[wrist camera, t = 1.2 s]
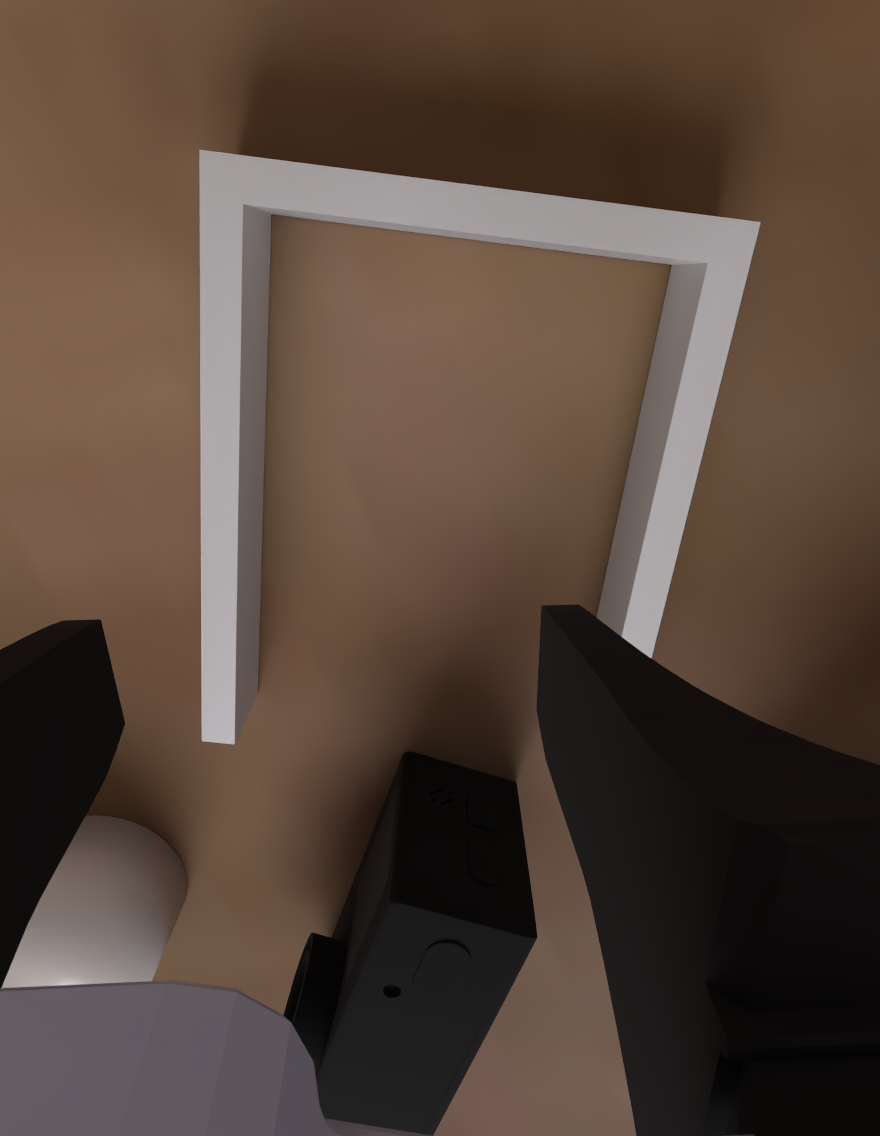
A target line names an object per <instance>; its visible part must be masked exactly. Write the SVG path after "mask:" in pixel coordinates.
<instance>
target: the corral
mask: <svg viewBox="0 0 880 1136" xmlns="http://www.w3.org/2000/svg"><path fill="white" fill-rule="evenodd" d="M271 214H274V215H282V216H290V217H298V218H306V219H314V220H321V221H329V222H337V223H345V224H353V225H361V226H369V227H377V228H385V229H393V230H401V231H408V232H416V233H424V234H432V235H440V236H448V237H456V238H464V239H472V240H480V241H487V242H495V243H503V244H511V245H519V246H527V247H535V248H543V249H551V250H559V251H567V252H574V253H582V254H590V255H598V256H606V257H614V258H622V259H630V260H638V261H646V262H653V263H661V264H669V265H672V267H671V271H670V276H669V281H668V285H667V290H666V295H665V299H664V304H663V309H662V313H661V318H660V323H659V327H658V332H657V337H656V341H655V346H654V351H653V355H652V360H651V365H650V369H649V374H648V379H647V383H646V388H645V393H644V397H643V402H642V407H641V411H640V416H639V421H638V425H637V430H636V435H635V439H634V444H633V449H632V453H631V458H630V463H629V467H628V472H627V477H626V481H625V486H624V491H623V495H622V500H621V505H620V509H619V514H618V519H617V523H616V528H615V533H614V537H613V542H612V547H611V551H610V556H609V561H608V565H607V570H606V575H605V579H604V584H603V589H602V593H601V598H600V603H599V607H598V612H597V617H596V618H598V619H599V620H600V621H602V622H603V623H604V624H606V625H607V626H608V627H609V628H611V629H612V630H613V631H615V632H616V633H617V634H619V635H620V636H621V637H622V638H624V639H625V640H626V641H628V642H629V643H630V644H632V645H633V646H635V647H636V648H637V649H639V650H640V651H641V652H643V653H644V654H646V655H647V656H648V657H650V658H652V654H653V650H654V646H655V642H656V638H657V634H658V630H659V626H660V622H661V618H662V614H663V610H664V606H665V602H666V598H667V594H668V590H669V586H670V582H671V578H672V574H673V570H674V566H675V562H676V558H677V554H678V550H679V546H680V542H681V538H682V534H683V530H684V526H685V522H686V518H687V514H688V510H689V506H690V502H691V498H692V494H693V490H694V486H695V482H696V478H697V474H698V470H699V466H700V462H701V458H702V454H703V450H704V446H705V443H706V439H707V435H708V431H709V427H710V423H711V419H712V415H713V411H714V407H715V403H716V399H717V395H718V391H719V387H720V383H721V379H722V375H723V371H724V367H725V363H726V359H727V355H728V351H729V347H730V343H731V339H732V335H733V331H734V327H735V323H736V319H737V315H738V311H739V307H740V303H741V299H742V295H743V291H744V287H745V283H746V279H747V275H748V271H749V267H750V263H751V259H752V255H753V251H754V247H755V243H756V239H757V235H758V231H759V227H760V223H761V222H755V221H748V220H740V219H732V218H724V217H717V216H709V215H701V214H694V213H686V212H678V211H670V210H663V209H655V208H647V207H639V206H632V205H624V204H616V203H608V202H601V201H593V200H585V199H577V198H570V197H562V196H554V195H546V194H539V193H531V192H523V191H515V190H508V189H500V188H492V187H484V186H477V185H469V184H461V183H453V182H446V181H438V180H430V179H422V178H415V177H407V176H399V175H391V174H384V173H376V172H368V171H360V170H353V169H345V168H337V167H330V166H322V165H314V164H306V163H299V162H291V161H283V160H275V159H268V158H260V157H252V156H244V155H237V154H229V153H221V152H213V151H206V150H200V411H201V672H202V741H206V742H215V743H225V744H235V742H236V740H237V738H238V736H239V733H240V731H241V729H242V727H243V725H244V722H245V720H246V718H247V716H248V714H249V711H250V709H251V707H252V705H253V703H254V700H255V698H256V696H257V694H258V668H259V633H260V598H261V563H262V528H263V493H264V458H265V423H266V388H267V353H268V318H269V283H270V248H271Z"/></svg>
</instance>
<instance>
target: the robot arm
mask: <svg viewBox="0 0 880 1136" xmlns="http://www.w3.org/2000/svg"><path fill="white" fill-rule="evenodd" d="M537 714H538V719H539V725H540V731H541V737H542V742H543V747H544V752H545V758H546V761H547V765H548V768H549V771H550V774H551V777H552V780H553V783H554V787H555V790H556V793H557V796H558V799H559V802H560V805H561V808H562V811H563V814H564V817H565V820H566V823H567V826H568V829H569V832H570V835H571V838H572V841H573V844H574V847H575V850H576V853H577V856H578V859H579V862H580V865H581V869H582V872H583V875H584V878H585V882H586V886H587V889H588V893H589V896H590V900H591V905H592V909H593V914H594V918H595V923H596V928H597V932H598V937H599V942H600V946H601V951H602V956H603V960H604V965H605V970H606V975H607V980H608V985H609V990H610V995H611V1000H612V1005H613V1010H614V1015H615V1020H616V1025H617V1030H618V1036H619V1041H620V1047H621V1052H622V1057H623V1063H624V1068H625V1073H626V1079H627V1084H628V1090H629V1095H630V1100H631V1106H632V1111H633V1117H634V1123H635V1129H636V1135H637V1136H880V765H877V764H874V763H871V762H868V761H865V760H861V759H858V758H855V757H852V756H849V755H846V754H843V753H840V752H837V751H834V750H831V749H829V748H826V747H823V746H820V745H818V744H815V743H812V742H810V741H807V740H805V739H802V738H800V737H797V736H795V735H792V734H790V733H788V732H785V731H783V730H780V729H778V728H775V727H773V726H771V725H768V724H766V723H764V722H762V721H760V720H757V719H755V718H753V717H751V716H749V715H747V714H745V713H743V712H741V711H739V710H737V709H735V708H733V707H731V706H729V705H727V704H725V703H723V702H721V701H720V700H718V699H716V698H714V697H712V696H710V695H708V694H707V693H705V692H703V691H701V690H699V689H698V688H696V687H694V686H693V685H691V684H690V683H688V682H686V681H685V680H683V679H682V678H680V677H678V676H677V675H675V674H674V673H672V672H671V671H669V670H667V669H666V668H664V667H663V666H661V665H660V664H659V663H657V662H656V661H654V660H653V659H651V658H650V657H648V656H647V655H646V654H644V653H643V652H641V651H640V650H639V649H637V648H636V647H635V646H633V645H632V644H630V643H629V642H628V641H626V640H625V639H624V638H622V637H621V636H620V635H619V634H617V633H616V632H615V631H613V630H612V629H611V628H609V627H608V626H607V625H606V624H604V623H603V622H602V621H600V620H599V619H598V618H596V617H595V616H594V615H593V614H591V613H590V612H589V611H587V610H586V609H584V608H583V607H581V606H580V605H549V606H542V610H541V630H540V651H539V671H538V692H537ZM124 725H125V721H124V717H123V712H122V708H121V704H120V700H119V695H118V691H117V687H116V683H115V678H114V674H113V670H112V665H111V661H110V657H109V653H108V648H107V644H106V640H105V636H104V631H103V627H102V623H101V620H70V621H61V622H58V623H55V624H53V625H50V626H48V627H45V628H43V629H41V630H39V631H37V632H35V633H33V634H31V635H28V636H26V637H24V638H22V639H20V640H19V641H17V642H15V643H13V644H11V645H9V646H7V647H5V648H3V649H1V650H0V1136H431V1135H425V1134H419V1133H413V1132H407V1131H400V1130H394V1129H388V1128H382V1127H375V1126H369V1125H363V1124H357V1123H351V1122H344V1121H338V1120H332V1119H326V1118H324V1116H323V1114H322V1111H321V1108H320V1105H319V1098H318V1090H317V1083H316V1076H315V1068H314V1062H313V1060H312V1058H311V1056H310V1055H309V1053H308V1051H307V1050H306V1048H305V1046H304V1044H303V1043H302V1041H301V1039H300V1037H299V1036H298V1034H297V1032H296V1030H295V1029H294V1027H293V1025H292V1023H291V1022H290V1021H289V1020H288V1019H287V1018H286V1017H285V1016H283V1015H282V1014H281V1013H279V1012H277V1011H275V1010H273V1009H272V1008H270V1007H268V1006H266V1005H264V1004H262V1003H261V1002H259V1001H257V1000H255V999H253V998H251V997H250V996H248V995H246V994H244V993H242V992H241V991H239V990H237V989H235V988H230V987H222V986H214V985H206V984H198V983H190V982H183V981H175V980H166V981H145V982H123V983H101V984H80V985H58V986H36V987H15V988H2V986H3V983H4V981H5V978H6V976H7V973H8V971H9V969H10V966H11V964H12V961H13V959H14V956H15V954H16V952H17V949H18V947H19V944H20V942H21V940H22V937H23V935H24V932H25V930H26V927H27V925H28V923H29V921H30V919H31V917H32V915H33V913H34V911H35V909H36V907H37V905H38V903H39V900H40V898H41V896H42V895H43V893H44V891H45V889H46V887H47V885H48V884H49V882H50V880H51V878H52V876H53V874H54V873H55V871H56V869H57V867H58V865H59V863H60V862H61V860H62V858H63V856H64V854H65V852H66V851H67V849H68V847H69V845H70V843H71V841H72V840H73V838H74V836H75V834H76V832H77V830H78V829H79V827H80V825H81V823H82V821H83V819H84V818H85V816H86V814H87V812H88V810H89V808H90V806H91V805H92V803H93V801H94V799H95V797H96V795H97V793H98V791H99V789H100V788H101V786H102V784H103V782H104V780H105V778H106V776H107V773H108V770H109V768H110V765H111V763H112V760H113V757H114V755H115V752H116V749H117V746H118V743H119V740H120V737H121V734H122V731H123V728H124Z"/></svg>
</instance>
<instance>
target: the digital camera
mask: <svg viewBox="0 0 880 1136" xmlns="http://www.w3.org/2000/svg"><path fill="white" fill-rule="evenodd" d="M438 789H443V790H442V791H440V792H437V793H435V794H432V795H430V794H429V793H430V792H432V791H435V790H438ZM449 792H452V794H450V795H449ZM434 798H437V799H438V800H436V801H434V802H431V801H430V800H431V799H434ZM449 799H453V801H451V802H449V803H447V804H444V805H440V803H441V802H444V801H446V800H449ZM536 939H537V931H536V922H535V914H534V906H533V899H532V892H531V885H530V877H529V870H528V863H527V856H526V848H525V841H524V834H523V827H522V820H521V812H520V805H519V798H518V791H517V783H516V782H513V781H510V780H506V779H503V778H499V777H496V776H492V775H489V774H486V773H482V772H479V771H475V770H472V769H469V768H465V767H462V766H458V765H455V764H451V763H448V762H445V761H441V760H438V759H434V758H431V757H428V756H424V755H421V754H417V753H414V752H406V753H405V754H404V755H403V757H402V759H401V762H400V764H399V767H398V769H397V772H396V775H395V777H394V780H393V782H392V785H391V787H390V790H389V792H388V795H387V798H386V800H385V803H384V805H383V808H382V810H381V813H380V815H379V818H378V821H377V823H376V826H375V828H374V831H373V833H372V836H371V839H370V841H369V844H368V846H367V849H366V851H365V854H364V856H363V859H362V862H361V864H360V867H359V869H358V872H357V874H356V877H355V879H354V882H353V885H352V887H351V890H350V892H349V895H348V897H347V900H346V903H345V905H344V908H343V910H342V913H341V915H340V918H339V921H338V923H337V926H336V928H335V931H334V933H333V936H332V938H330V937H326V936H323V935H319V934H315V933H311V934H310V936H309V938H308V940H307V943H306V945H305V947H304V950H303V953H302V956H301V959H300V962H299V965H298V968H297V971H296V974H295V977H294V981H293V984H292V987H291V991H290V994H289V998H288V1001H287V1005H286V1009H285V1012H284V1016H285V1017H286V1018H287V1019H288V1020H289V1021H290V1022H291V1023H292V1025H293V1027H294V1029H295V1030H296V1032H297V1034H298V1036H299V1037H300V1039H301V1041H302V1043H303V1044H304V1046H305V1048H306V1050H307V1051H308V1053H309V1055H310V1056H311V1058H312V1060H313V1062H314V1068H315V1076H316V1083H317V1090H318V1098H319V1105H320V1108H321V1111H322V1114H323V1116H324V1118H326V1119H332V1120H338V1121H344V1122H351V1123H357V1124H363V1125H369V1126H375V1127H382V1128H388V1129H394V1130H400V1131H407V1132H413V1133H419V1134H425V1135H431V1136H433V1134H434V1132H435V1131H436V1129H437V1127H438V1125H439V1123H440V1121H441V1120H442V1118H443V1116H444V1114H445V1112H446V1110H447V1108H448V1106H449V1104H450V1103H451V1101H452V1099H453V1097H454V1095H455V1093H456V1091H457V1089H458V1088H459V1086H460V1084H461V1082H462V1080H463V1078H464V1076H465V1074H466V1072H467V1071H468V1069H469V1067H470V1065H471V1063H472V1061H473V1059H474V1057H475V1055H476V1054H477V1052H478V1050H479V1048H480V1046H481V1044H482V1042H483V1040H484V1038H485V1037H486V1035H487V1033H488V1031H489V1029H490V1027H491V1025H492V1023H493V1021H494V1019H495V1018H496V1016H497V1014H498V1012H499V1010H500V1008H501V1006H502V1004H503V1002H504V1000H505V998H506V996H507V995H508V993H509V991H510V989H511V987H512V985H513V983H514V981H515V979H516V977H517V975H518V973H519V971H520V970H521V968H522V966H523V964H524V962H525V960H526V958H527V956H528V954H529V952H530V950H531V948H532V947H533V945H534V943H535V941H536Z"/></svg>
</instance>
